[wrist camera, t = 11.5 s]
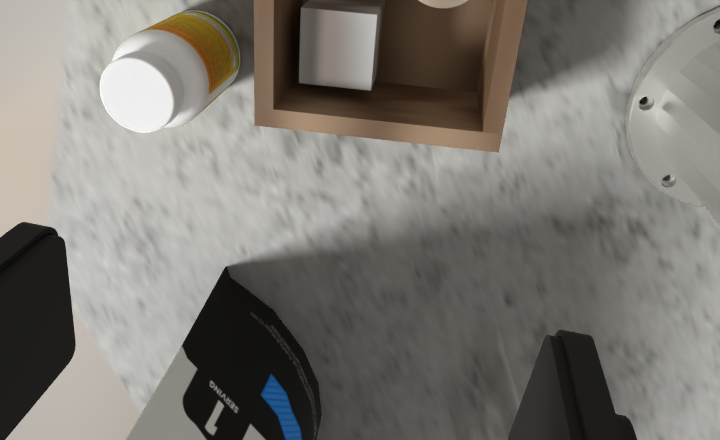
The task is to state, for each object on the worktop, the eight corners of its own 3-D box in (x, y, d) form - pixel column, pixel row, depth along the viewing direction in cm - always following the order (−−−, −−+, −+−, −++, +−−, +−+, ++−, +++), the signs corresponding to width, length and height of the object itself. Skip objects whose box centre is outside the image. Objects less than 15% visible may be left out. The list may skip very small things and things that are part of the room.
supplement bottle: (177, -8, 38) (102, 21, 30) (255, 36, 39) (203, 77, 31) (149, 67, 41) (72, 113, 32) (223, 107, 42) (166, 163, 33)
